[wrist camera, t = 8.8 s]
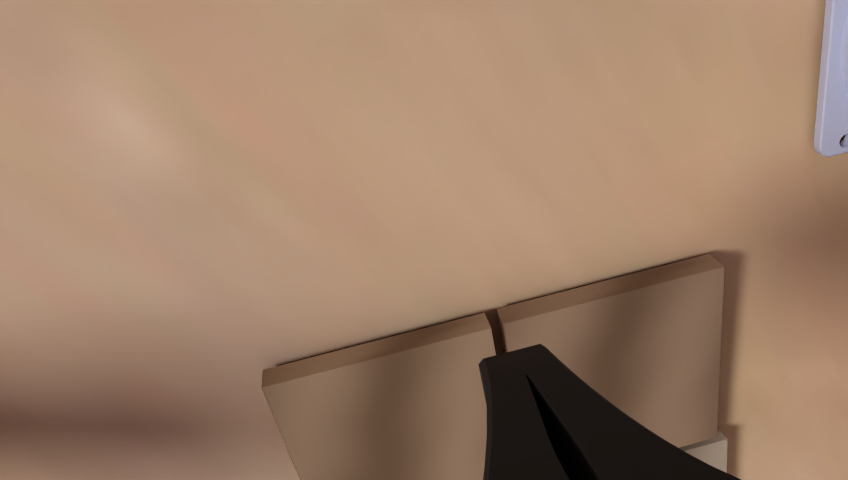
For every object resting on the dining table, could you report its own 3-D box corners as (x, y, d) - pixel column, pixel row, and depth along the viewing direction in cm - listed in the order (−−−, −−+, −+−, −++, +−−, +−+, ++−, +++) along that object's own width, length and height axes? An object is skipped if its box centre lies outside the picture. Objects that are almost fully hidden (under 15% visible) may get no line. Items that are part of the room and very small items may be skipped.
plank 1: (484, 312, 25) (491, 328, 24) (512, 473, 29) (519, 491, 28) (262, 370, 24) (261, 387, 23) (326, 524, 29) (327, 543, 28)
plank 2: (710, 253, 25) (724, 266, 24) (704, 421, 30) (717, 437, 29) (496, 308, 25) (504, 324, 24) (523, 470, 29) (530, 488, 28)
